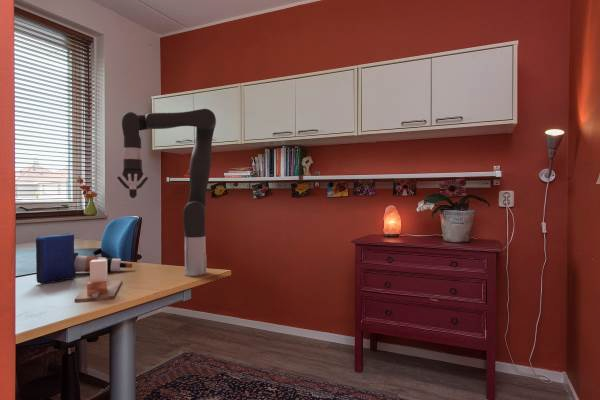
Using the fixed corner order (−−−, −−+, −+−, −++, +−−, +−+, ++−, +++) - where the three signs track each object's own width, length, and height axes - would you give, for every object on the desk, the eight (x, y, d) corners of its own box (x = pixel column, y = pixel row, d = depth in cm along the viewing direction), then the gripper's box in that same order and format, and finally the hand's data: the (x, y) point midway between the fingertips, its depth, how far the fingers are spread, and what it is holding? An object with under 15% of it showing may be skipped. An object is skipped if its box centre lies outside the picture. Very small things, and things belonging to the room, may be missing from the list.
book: (71, 277, 167) (70, 232, 166) (77, 278, 164) (77, 233, 164) (34, 284, 154) (34, 235, 154) (41, 285, 151) (40, 236, 151)
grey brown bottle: (130, 280, 180) (131, 263, 176) (47, 278, 168) (46, 260, 164) (132, 267, 188) (133, 250, 184) (54, 264, 177) (53, 247, 173)
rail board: (121, 282, 156) (121, 270, 156) (113, 298, 132) (113, 284, 132) (89, 285, 152) (88, 272, 152) (74, 302, 128) (74, 287, 128)
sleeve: (107, 287, 142) (107, 258, 142) (105, 290, 138) (105, 261, 138) (92, 288, 141) (92, 259, 141) (90, 292, 136) (89, 262, 136)
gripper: (115, 157, 161) (115, 198, 161) (148, 158, 165) (148, 198, 165) (117, 159, 168) (117, 198, 168) (149, 159, 172) (149, 197, 172)
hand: (133, 198), depth 167 cm, fingers closed
